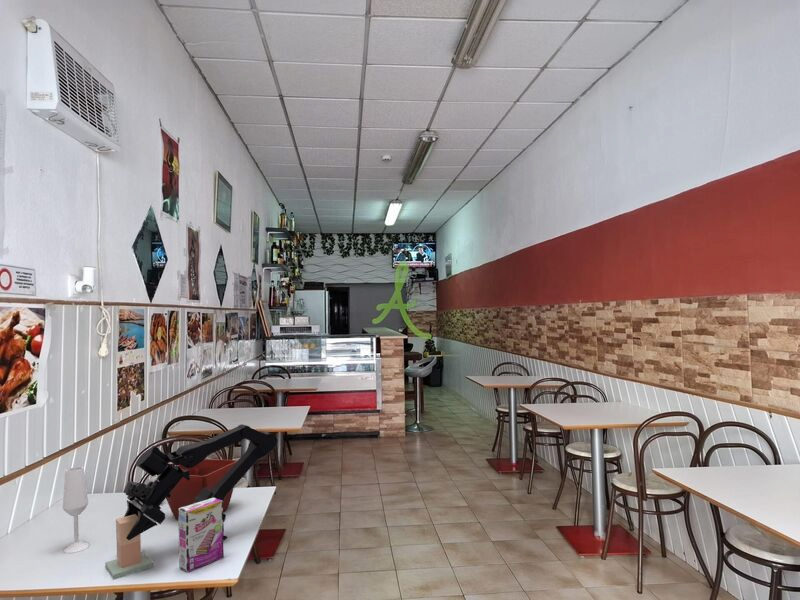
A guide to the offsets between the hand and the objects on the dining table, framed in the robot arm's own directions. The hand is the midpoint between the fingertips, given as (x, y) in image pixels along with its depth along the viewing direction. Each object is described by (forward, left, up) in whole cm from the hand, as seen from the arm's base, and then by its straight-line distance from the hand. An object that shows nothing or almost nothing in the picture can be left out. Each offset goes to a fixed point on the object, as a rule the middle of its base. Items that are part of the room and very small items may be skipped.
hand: (123, 534), depth 148 cm
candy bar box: (-20, -8, -9) cm, 23 cm away
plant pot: (+6, -39, -9) cm, 41 cm away
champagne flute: (+26, -7, -9) cm, 29 cm away
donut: (+32, -45, -9) cm, 56 cm away
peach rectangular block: (-1, -1, -8) cm, 8 cm away
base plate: (-1, -1, -9) cm, 9 cm away
